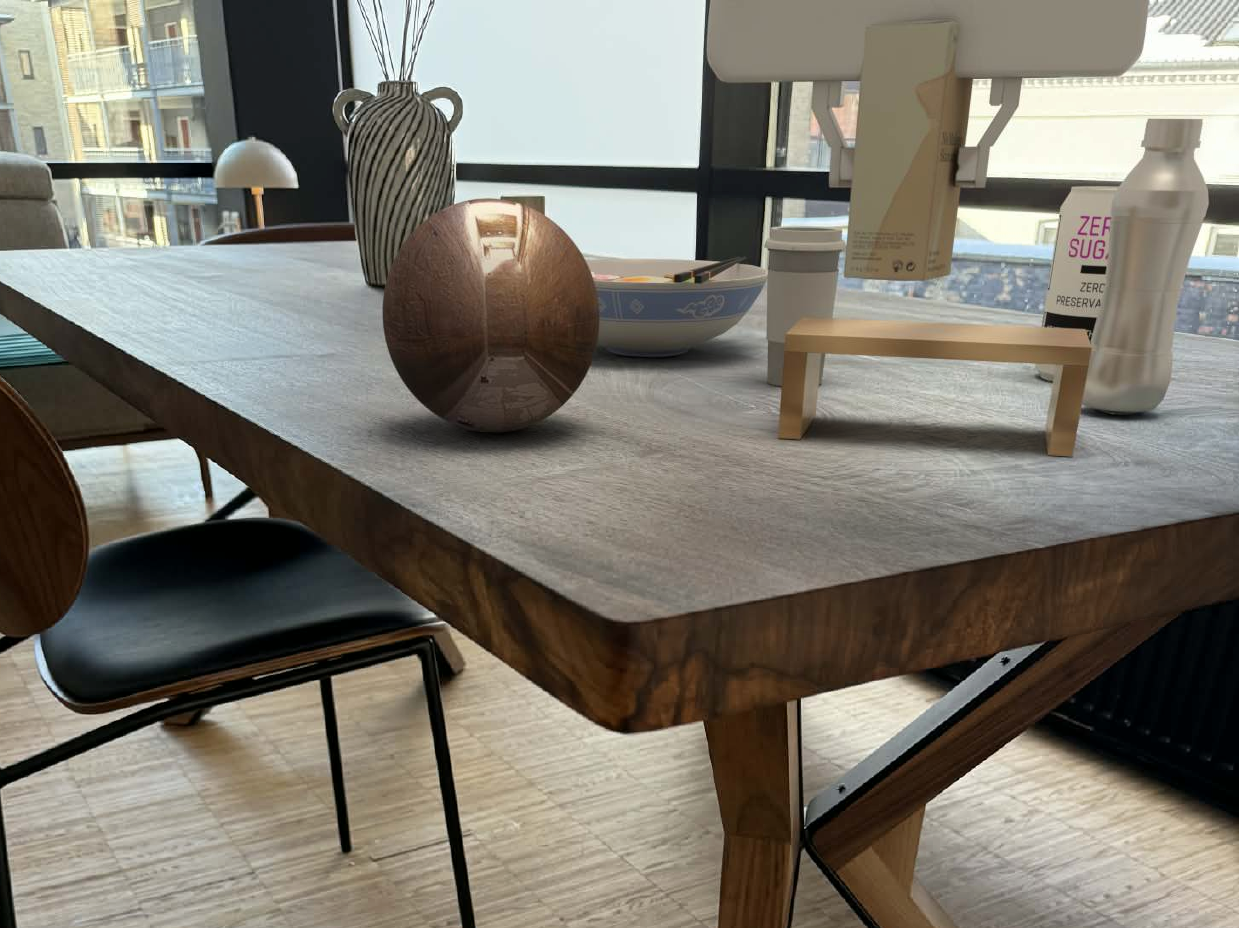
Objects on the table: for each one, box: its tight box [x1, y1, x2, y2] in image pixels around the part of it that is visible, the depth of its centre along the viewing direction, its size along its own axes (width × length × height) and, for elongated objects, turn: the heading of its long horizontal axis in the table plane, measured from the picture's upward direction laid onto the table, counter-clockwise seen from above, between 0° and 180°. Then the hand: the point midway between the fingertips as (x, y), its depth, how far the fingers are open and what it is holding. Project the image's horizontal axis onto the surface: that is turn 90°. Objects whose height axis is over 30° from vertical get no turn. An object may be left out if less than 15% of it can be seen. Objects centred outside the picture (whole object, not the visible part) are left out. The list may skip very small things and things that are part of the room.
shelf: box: [777, 317, 1092, 458], centre depth 95 cm, size 20×9×7 cm, turn 75°
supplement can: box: [1034, 185, 1119, 382], centre depth 115 cm, size 8×8×15 cm
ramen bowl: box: [585, 256, 768, 358], centre depth 128 cm, size 25×23×8 cm
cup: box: [763, 225, 847, 387], centre depth 113 cm, size 7×7×12 cm
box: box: [843, 20, 974, 282], centre depth 67 cm, size 5×4×11 cm
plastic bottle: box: [1082, 118, 1210, 415], centre depth 100 cm, size 6×7×20 cm
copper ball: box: [381, 197, 600, 434], centre depth 94 cm, size 15×15×15 cm
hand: (905, 187), depth 67 cm, fingers closed on box, 5 cm apart
